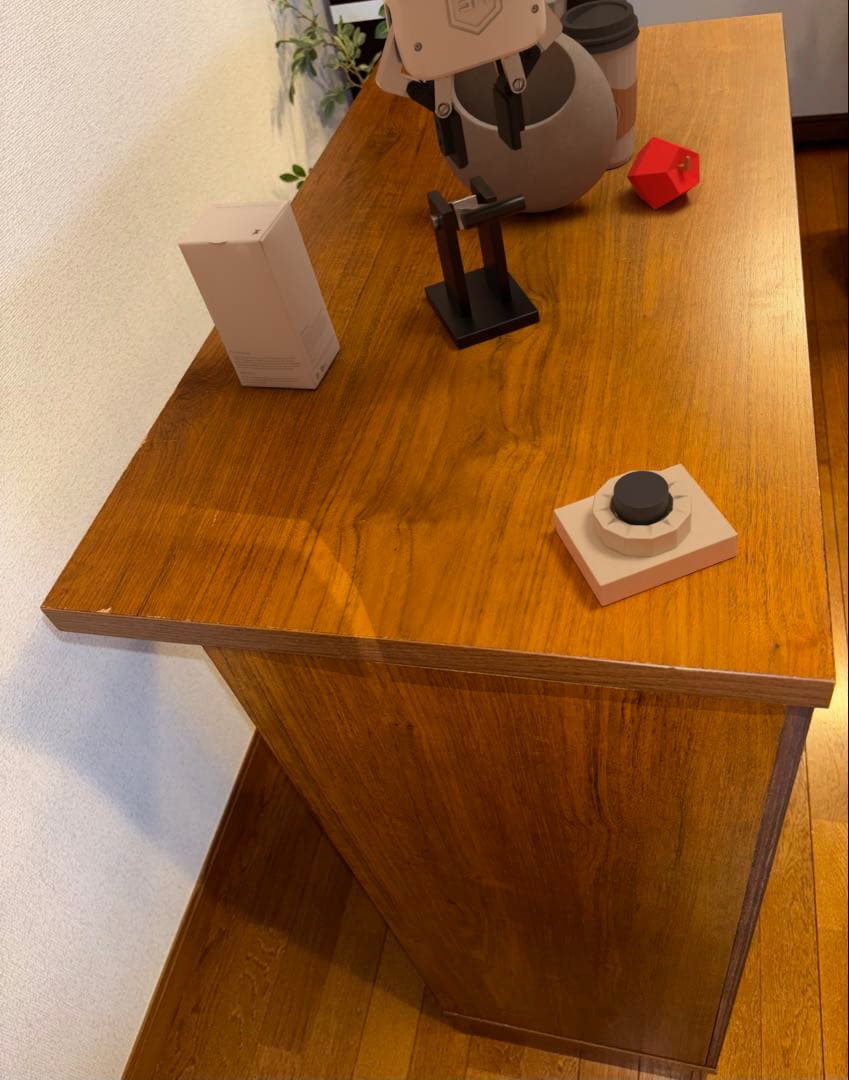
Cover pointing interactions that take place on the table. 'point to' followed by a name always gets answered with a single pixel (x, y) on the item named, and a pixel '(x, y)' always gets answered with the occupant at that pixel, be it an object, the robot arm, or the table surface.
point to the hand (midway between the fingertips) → (483, 150)
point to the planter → (540, 129)
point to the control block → (644, 538)
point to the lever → (484, 210)
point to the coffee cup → (611, 60)
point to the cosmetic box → (262, 293)
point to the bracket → (475, 279)
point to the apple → (663, 172)
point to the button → (641, 498)
